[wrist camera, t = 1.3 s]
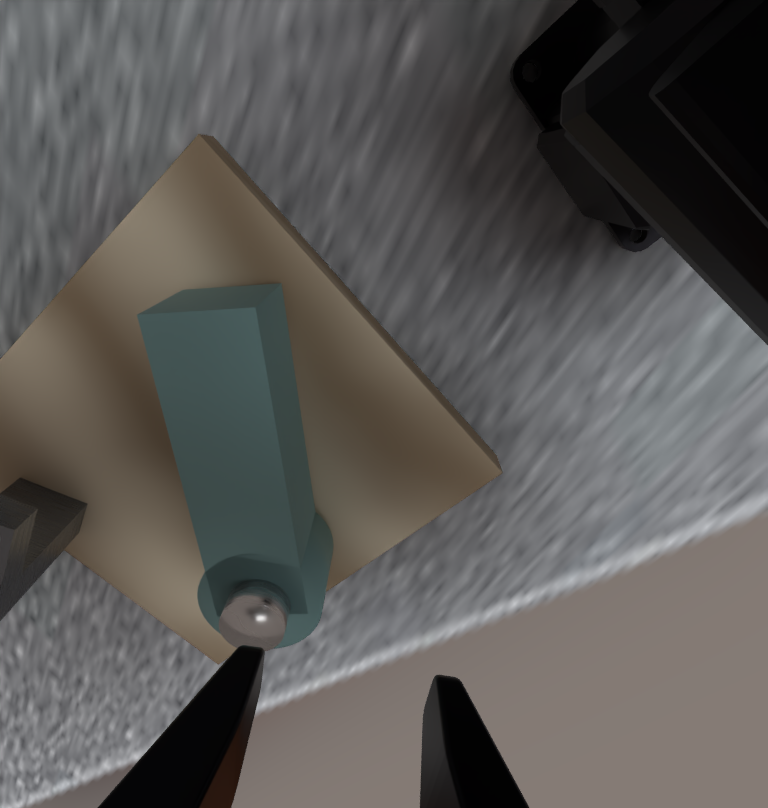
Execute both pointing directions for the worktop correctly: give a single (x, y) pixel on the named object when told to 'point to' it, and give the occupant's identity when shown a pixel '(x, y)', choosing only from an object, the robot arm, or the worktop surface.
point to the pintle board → (144, 421)
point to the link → (241, 459)
